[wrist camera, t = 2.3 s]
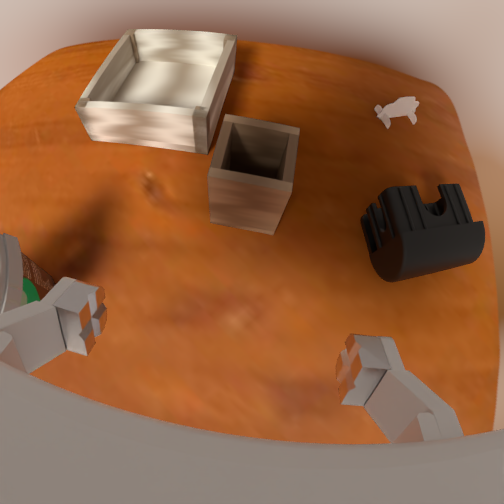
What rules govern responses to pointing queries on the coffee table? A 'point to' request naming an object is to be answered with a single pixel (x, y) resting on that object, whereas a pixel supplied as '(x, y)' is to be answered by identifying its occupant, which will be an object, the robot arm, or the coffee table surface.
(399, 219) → the end cap
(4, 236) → the food container
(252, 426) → the coffee table surface
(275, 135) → the small crate
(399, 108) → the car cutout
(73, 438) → the robot arm
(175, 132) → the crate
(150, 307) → the coffee table surface
